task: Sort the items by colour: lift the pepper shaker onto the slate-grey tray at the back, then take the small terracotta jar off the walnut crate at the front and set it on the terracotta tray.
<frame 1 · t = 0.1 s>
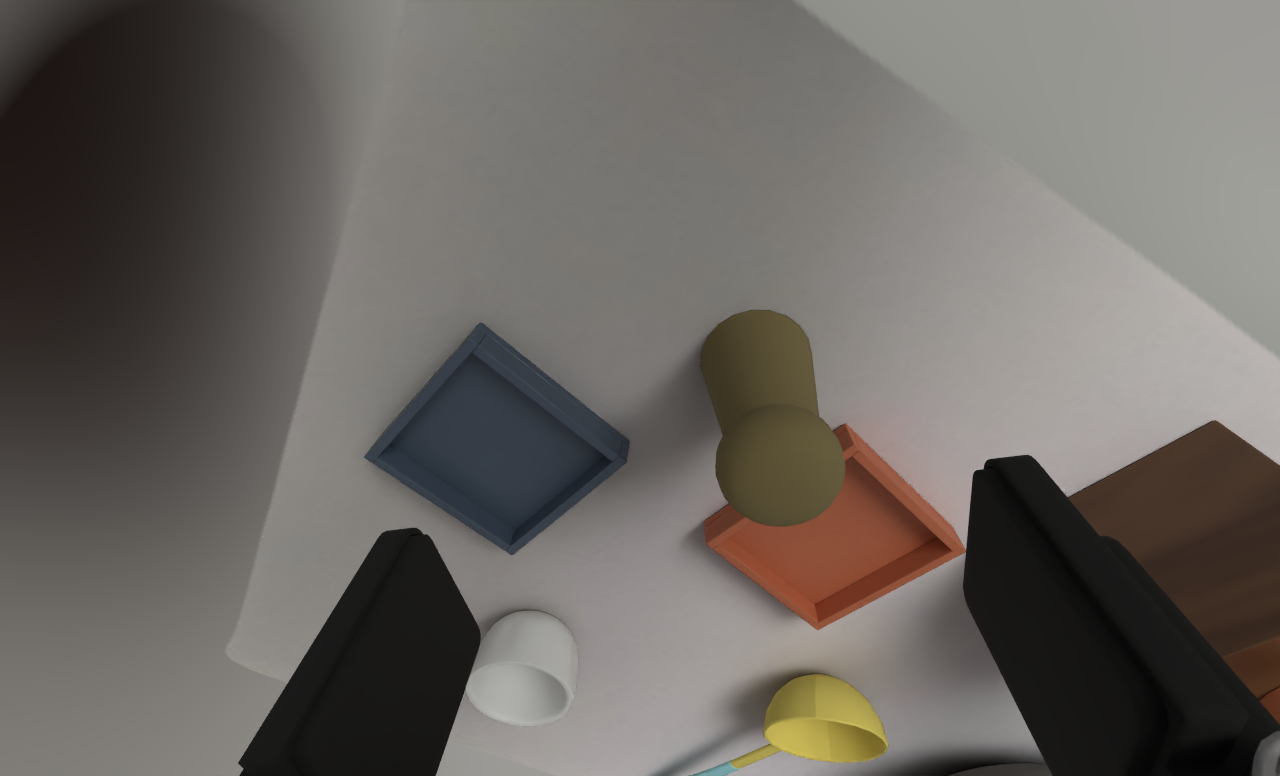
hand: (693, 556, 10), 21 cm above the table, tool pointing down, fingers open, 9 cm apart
terracotta tray: (826, 523, 38), on the table
teacup: (530, 634, 46), on the table
slate tray: (502, 439, 36), on the table
pepper shaker: (755, 358, 32), on the table
walnut crate: (1150, 532, 36), on the table
ladle: (739, 725, 50), on the table
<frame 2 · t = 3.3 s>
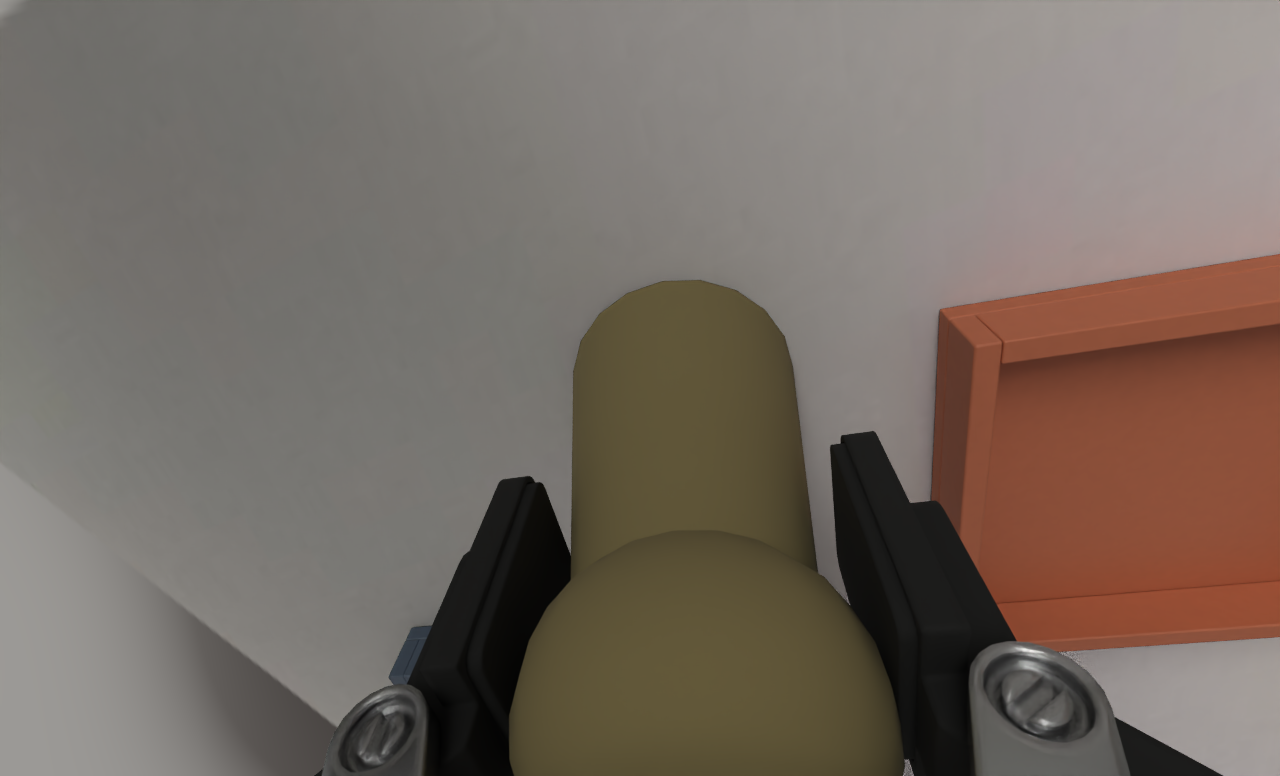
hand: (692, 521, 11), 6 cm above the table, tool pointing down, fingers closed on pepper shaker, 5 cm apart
terracotta tray: (1141, 455, 16), on the table
slate tray: (586, 701, 24), on the table
pepper shaker: (681, 380, 16), on the table, touching gripper
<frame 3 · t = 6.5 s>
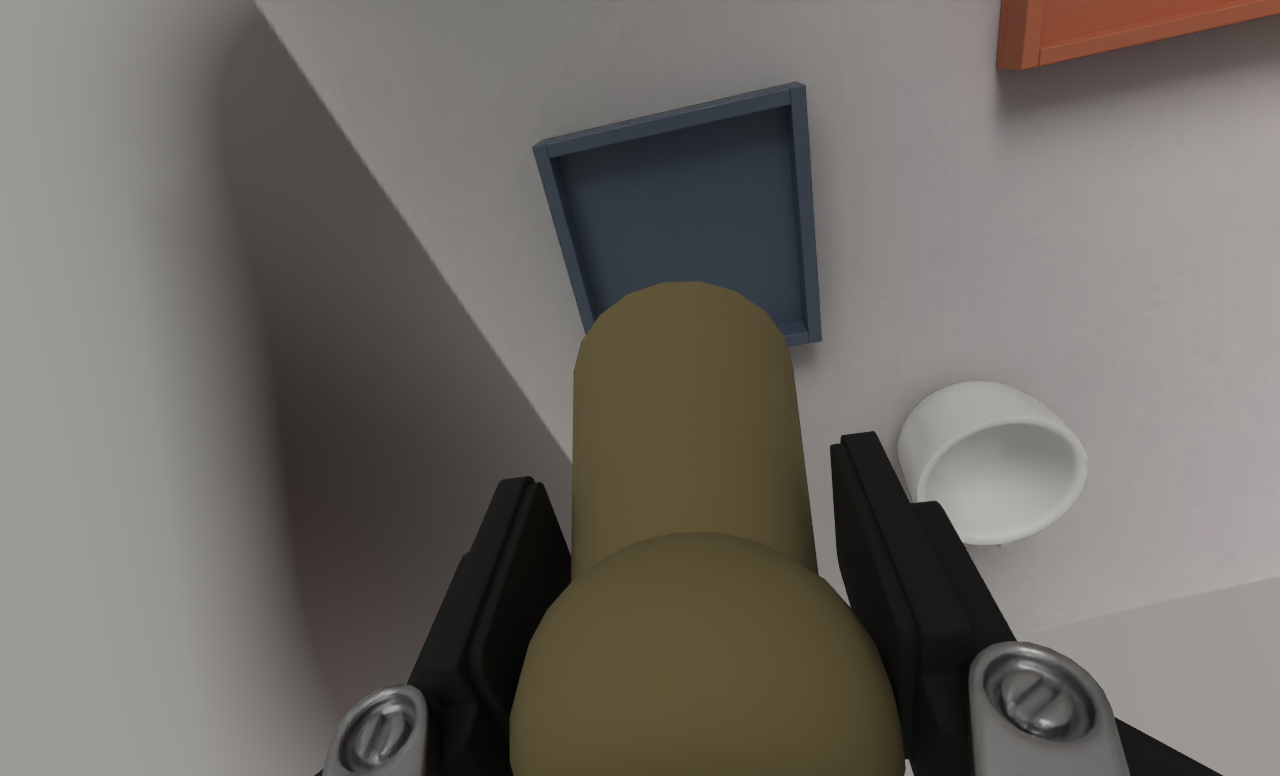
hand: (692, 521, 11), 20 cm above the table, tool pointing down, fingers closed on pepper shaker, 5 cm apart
teacup: (957, 434, 33), on the table
slate tray: (686, 237, 28), on the table
pepper shaker: (682, 381, 16), point 14 cm above the table, touching gripper
when the fingers open (6 cm above the table, at t = 9.8 s): pepper shaker stays where it is, resting on slate tray.
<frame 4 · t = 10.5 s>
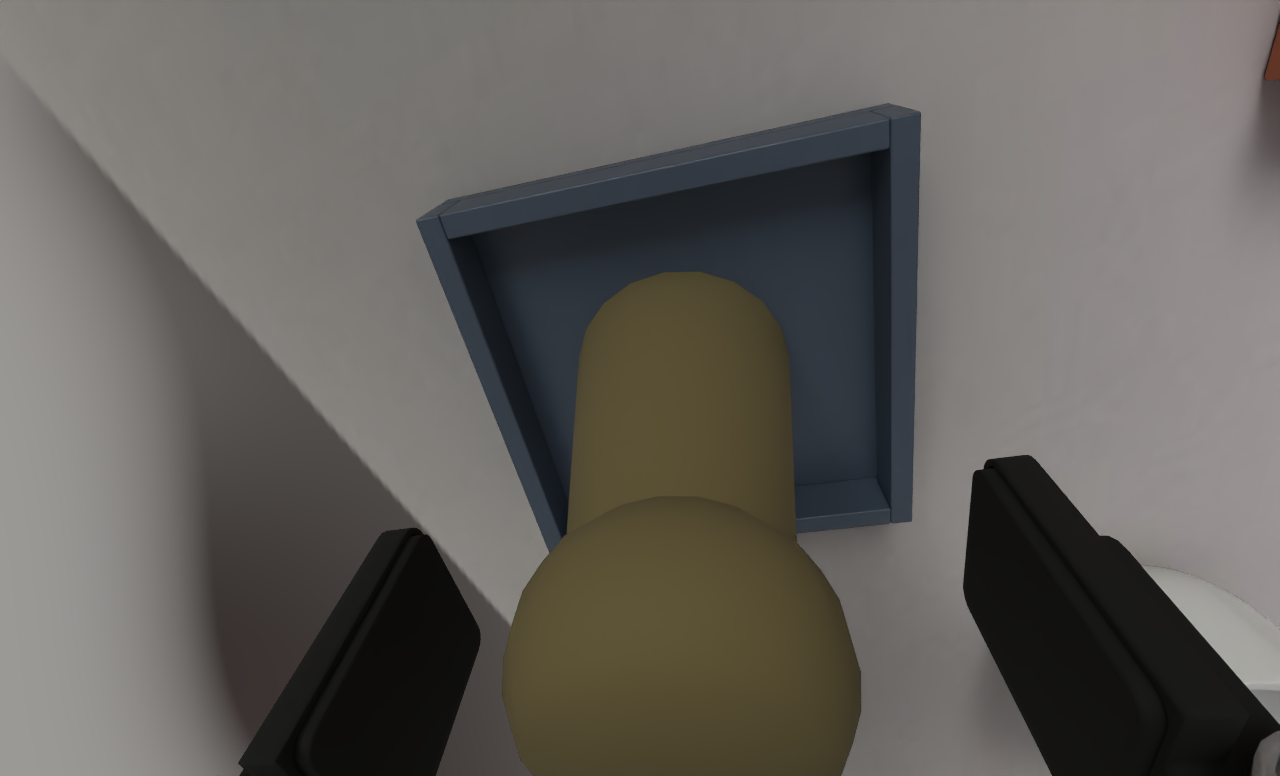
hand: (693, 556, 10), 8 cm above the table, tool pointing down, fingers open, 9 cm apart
teacup: (1094, 621, 22), on the table
slate tray: (691, 352, 17), on the table
pepper shaker: (682, 368, 17), resting on slate tray
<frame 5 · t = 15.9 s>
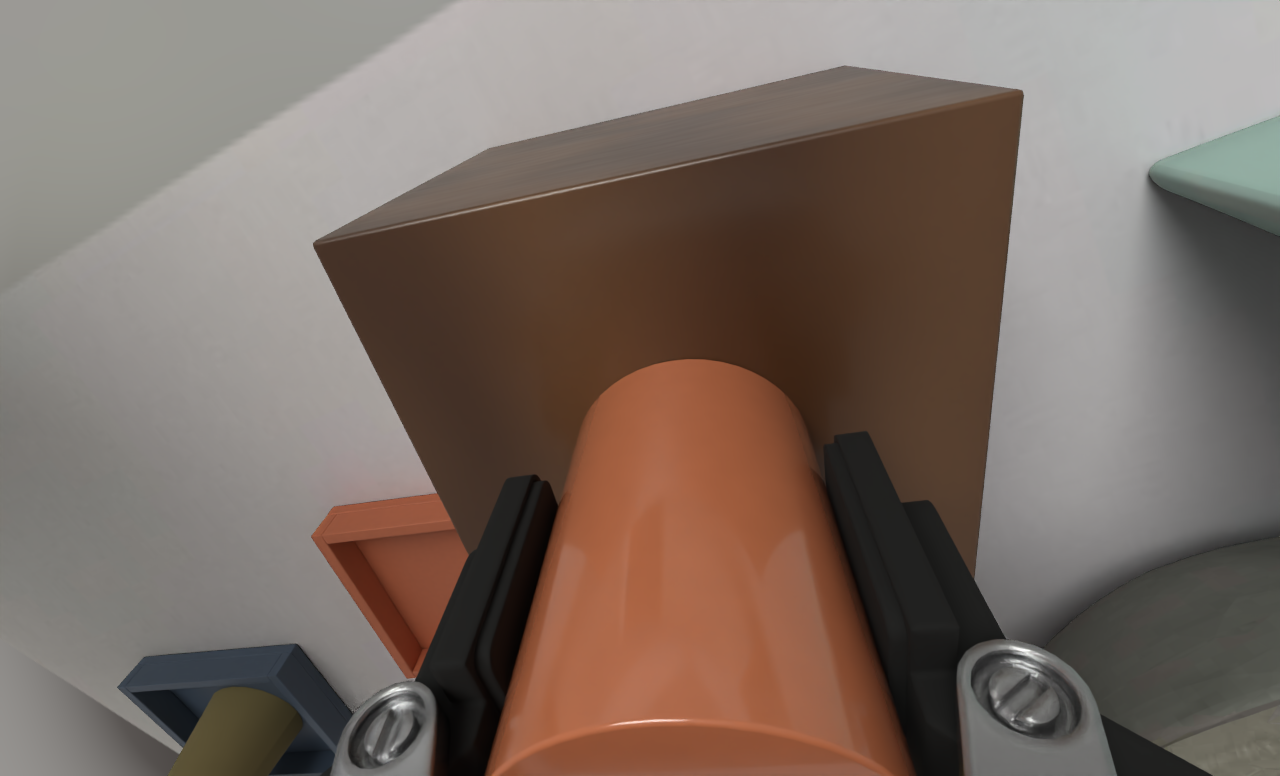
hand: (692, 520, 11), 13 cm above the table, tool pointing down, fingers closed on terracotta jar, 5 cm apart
terracotta tray: (475, 572, 31), on the table
bowl: (1190, 624, 30), on the table
slate tray: (265, 702, 39), on the table
pepper shaker: (259, 710, 39), resting on slate tray
walnut crate: (689, 280, 22), on the table
terracotta jar: (691, 460, 12), point 11 cm above the table, touching gripper, walnut crate
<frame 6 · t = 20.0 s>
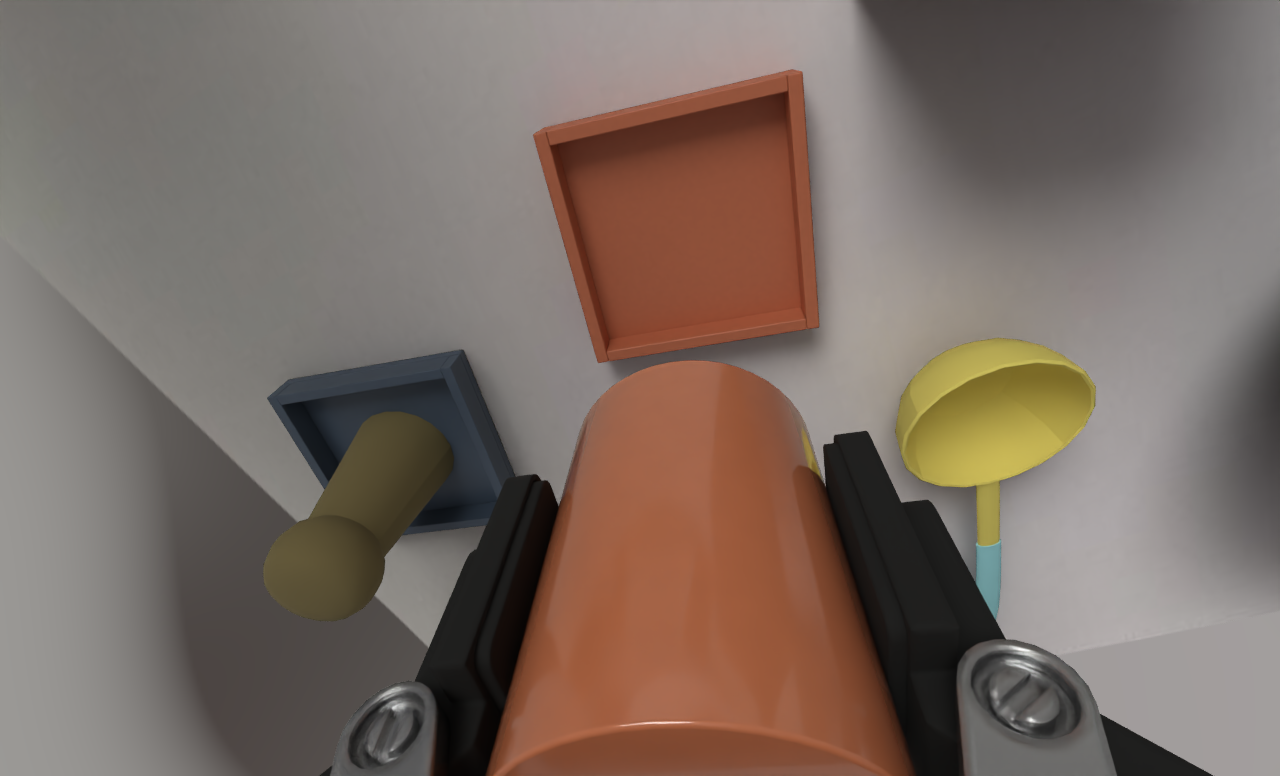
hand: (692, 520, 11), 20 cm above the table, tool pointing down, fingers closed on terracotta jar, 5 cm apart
terracotta tray: (685, 225, 28), on the table
slate tray: (412, 442, 36), on the table
pepper shaker: (406, 450, 36), resting on slate tray
ladle: (965, 498, 36), on the table
terracotta jar: (692, 461, 12), point 18 cm above the table, touching gripper
when the fingers open (2 cm above the table, at t = 24.2 s): terracotta jar stays where it is, resting on terracotta tray.
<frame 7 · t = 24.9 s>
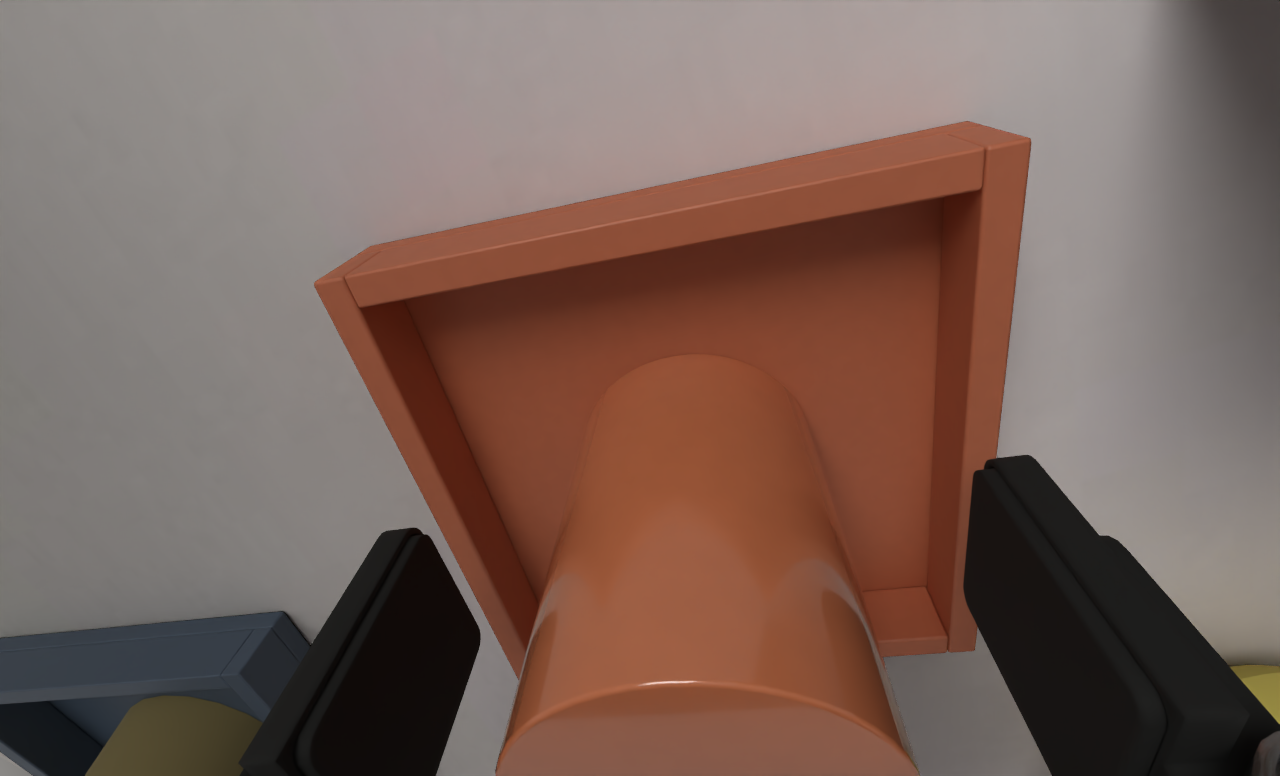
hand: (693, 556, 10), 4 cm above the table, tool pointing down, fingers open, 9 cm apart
terracotta tray: (693, 435, 13), on the table
slate tray: (228, 723, 21), on the table
pepper shaker: (217, 738, 21), resting on slate tray
terracotta jar: (695, 453, 13), point 1 cm above the table, touching terracotta tray
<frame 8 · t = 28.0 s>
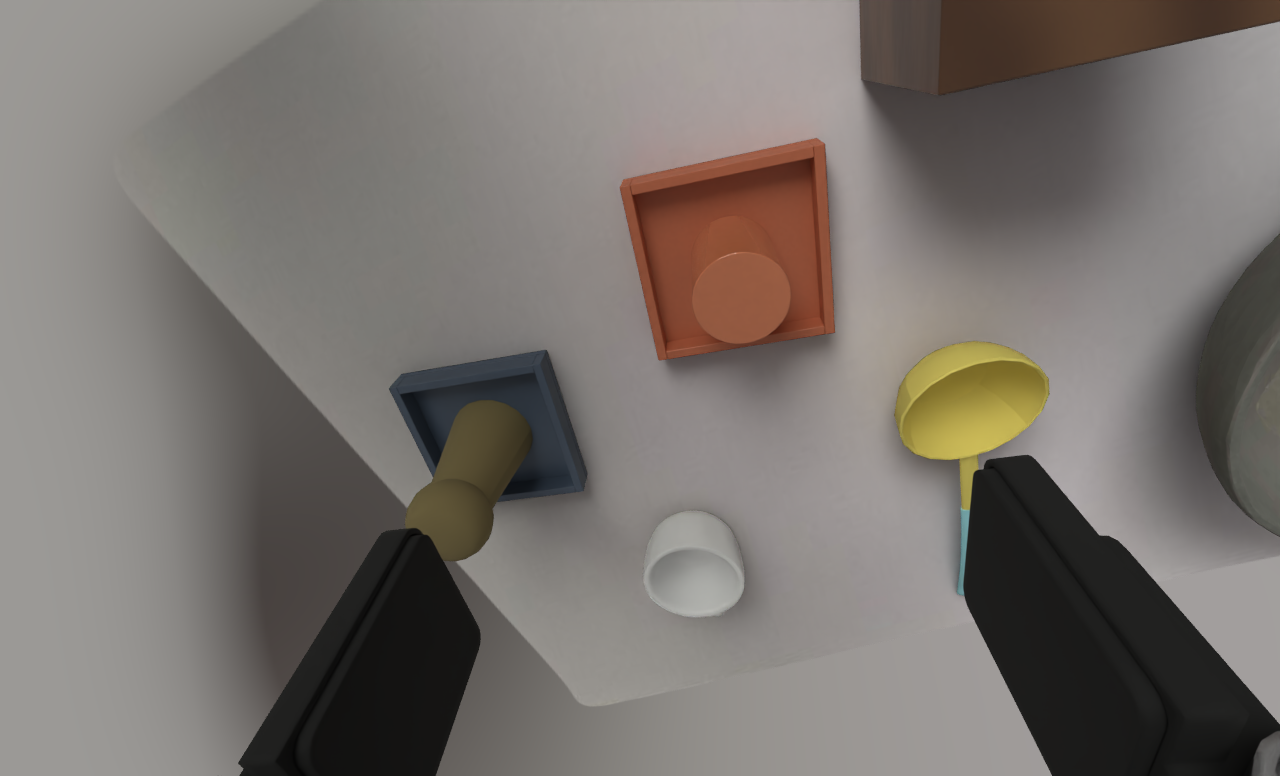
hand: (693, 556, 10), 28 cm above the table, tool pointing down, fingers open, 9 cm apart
terracotta tray: (730, 252, 36), on the table
teacup: (697, 538, 49), on the table
slate tray: (498, 425, 44), on the table
pepper shaker: (493, 432, 44), resting on slate tray
ladle: (952, 472, 44), on the table
terracotta jar: (731, 256, 36), point 1 cm above the table, touching terracotta tray
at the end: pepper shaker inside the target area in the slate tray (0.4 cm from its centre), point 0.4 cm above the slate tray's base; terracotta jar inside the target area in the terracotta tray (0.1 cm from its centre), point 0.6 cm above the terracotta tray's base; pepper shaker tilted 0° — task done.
